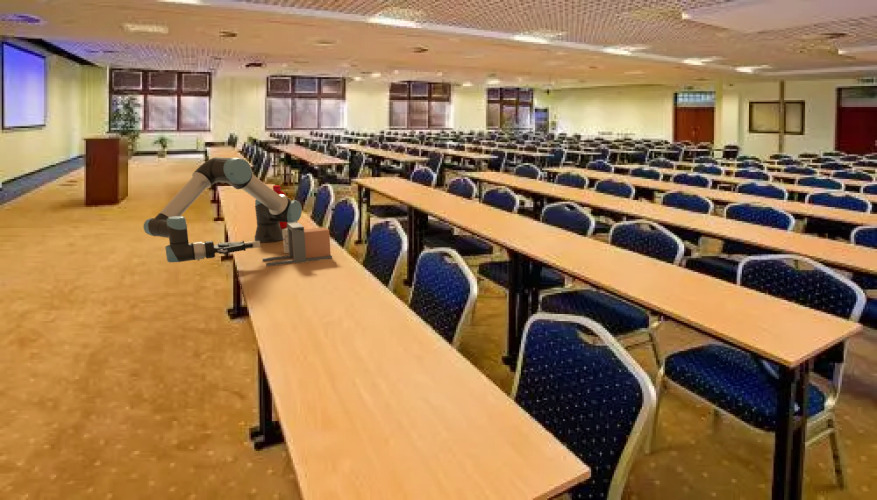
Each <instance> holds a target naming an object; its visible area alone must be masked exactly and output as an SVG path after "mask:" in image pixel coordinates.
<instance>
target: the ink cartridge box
mask: <svg viewBox="0 0 877 500" xmlns="http://www.w3.org/2000/svg"><path fill="white" fill-rule="evenodd" d="M295 222H298V221H295ZM282 234H283V240H282V242H283V253H284V254H289V246H288V232H287V228H284V229H282Z"/></svg>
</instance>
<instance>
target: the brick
mask: <svg viewBox="0 0 877 500" xmlns="http://www.w3.org/2000/svg"><path fill="white" fill-rule="evenodd" d="M304 236H305V252H306V258H312V257H321V256H330V255H331V242H330V240H331V239H330V238H331V236H330V229H329V228H327V227H326V226H324V227H323V226H322V227H315V228H304ZM292 244H293V240H292ZM331 256H332V255H331ZM292 259H294V254H293V258H292Z"/></svg>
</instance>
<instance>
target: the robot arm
mask: <svg viewBox="0 0 877 500" xmlns="http://www.w3.org/2000/svg"><path fill="white" fill-rule="evenodd" d="M253 173H254V172H253V169H252V168H251V164H250V162H248V161H247V160H245V159H244V158H240V157H225V156H224V157H223V156H215V157H211V158H209V159H208V160H206V161H204V162H203V163H202V164H201V165H200V166H199V167H198V168H196V169H195V170H194V172H192V177H191V178H190V179H189V180H188V181H187V182H186V184H185V185H183V187H182V188H181V189H180V190H179V191H178V192H177V193H176V194H175V195H174V196H173V198H172V199H171V200H170V201H169V202H168V203H167V204H166V205H165V206H164V207H163V209H161V211H160V212H159V213H158V214H157V215H156V216H155V217H151V218H148V219H146V220H145V221H144V223H143V230H144V232H145V234H146V235H149V236H152V237H158V238H159V237H160V238H166V239H167V238H168V241H169V244H168V245H165V247H164V248H165V255H166V261H167V262H168V263H182V262H188V261H189V262H190V261H196V260H197V262H199V261H200V260H205V259H215V258H216V254H219V255H220V254H223V255H226V254H231V253H236V252H241V251H246V250H247V249H248V250H249V249H255V248H261V243H274V242H279V241H283V234H282V230H283V229H281V227H280V224H279V222H288V223H292V222H295V221H297V222H298V221H299V220H300V219H301V216H302V213H303V209H302V204H301V202H300V201H299V200H296V199H293V200H292V199H291V198H289V197H288V196H287V195H286V196H285V195H282V194H280V195H279V194H277V193H276V192H275V191H273V188H271V187H269V186H268V185H267V184H266V183H264V182H263V181H262V180H261V179H259V178H258V177H257V176H255V175H254V174H253ZM216 183H226V184H228V185H230V186H231V187H233V188H234V189H235V190H243V191H244V192H245V193H247V194H248V195H250V196H251V197H252V198H254V199H255V201H254V202H255V203H254V204H255V205H254V208H255V209H254V210H255V216H256V217H255V218H256V230H255V234H254V241H246V242H245V241H244V240H242V241H232V242H219V243H216V244H214V241H213V240H207V241H205V240H204V241H197V242H196V241H195V242H190V243H189V235H188V233H189V232H188V224H187V220H186V217H185V216H184V215H183V214H184V213H185V212H186V211H187V210H188V209H189V207H191V205H192V204H194V202H195V201H196V200H197V199H198V197H200V195H201V194H202V193H203V192H204V191H205V190H206V189H209V188H211V187H212V186H213V185H214V184H216ZM182 215H183V216H182Z"/></svg>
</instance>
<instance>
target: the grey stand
mask: <svg viewBox="0 0 877 500" xmlns="http://www.w3.org/2000/svg"><path fill="white" fill-rule="evenodd" d="M304 229H305V226H304V225H302V224H301V223H299V222H298V221H297V222H292V223H287V232H288V246H289V253H288V254H287V255H279V256H271V257H263V258H261V259H262V262H265V264H266V265H265V266H266V267H271V266H279V265H288V264H289V265H290V264H302V263H307V262H313V261H314V262H315V261H321V260H324V261H325V260H331V259H333V255H330V256H321V257H312V258H306V252H305V236H304ZM292 240H293V244H292ZM293 254H294V258H293ZM286 259H287V260H286Z"/></svg>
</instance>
